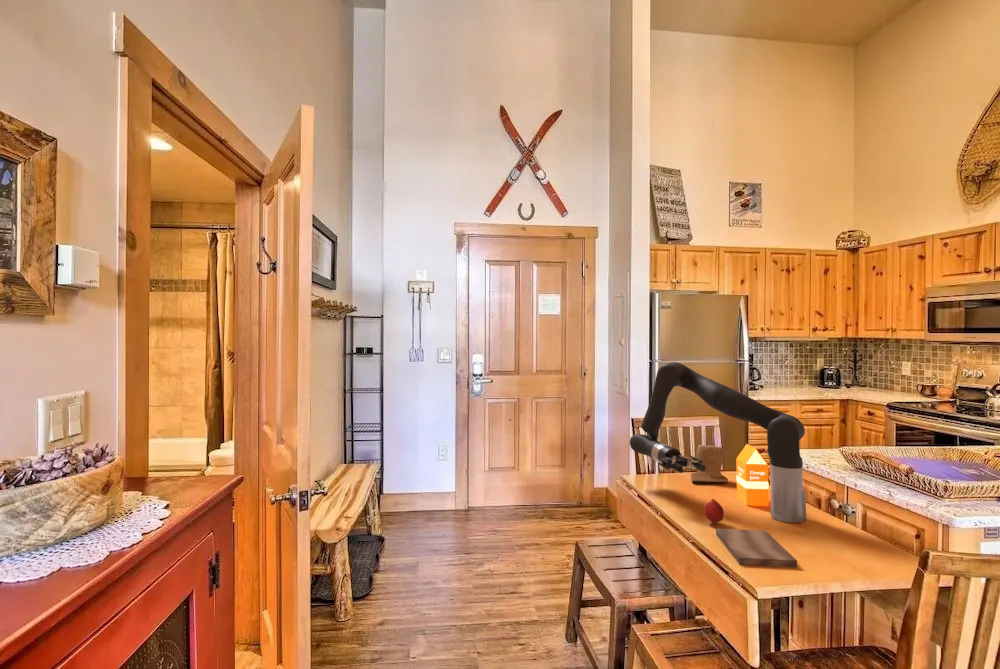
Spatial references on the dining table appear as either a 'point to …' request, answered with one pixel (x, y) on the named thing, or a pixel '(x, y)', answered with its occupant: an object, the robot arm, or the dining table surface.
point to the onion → (714, 511)
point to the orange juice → (752, 478)
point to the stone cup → (709, 464)
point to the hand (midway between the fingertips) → (693, 469)
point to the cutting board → (755, 548)
